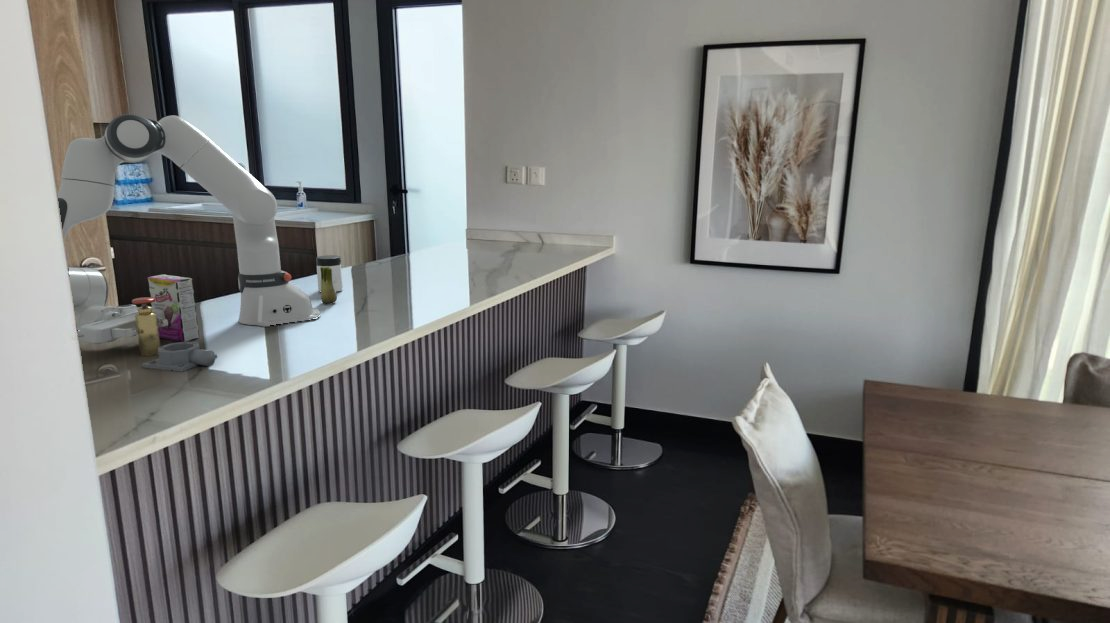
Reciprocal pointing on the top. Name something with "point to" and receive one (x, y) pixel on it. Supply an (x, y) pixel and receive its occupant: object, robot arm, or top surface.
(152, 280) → the candy bar box
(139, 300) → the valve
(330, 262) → the jar
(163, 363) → the fitting
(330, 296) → the fennel bulb
